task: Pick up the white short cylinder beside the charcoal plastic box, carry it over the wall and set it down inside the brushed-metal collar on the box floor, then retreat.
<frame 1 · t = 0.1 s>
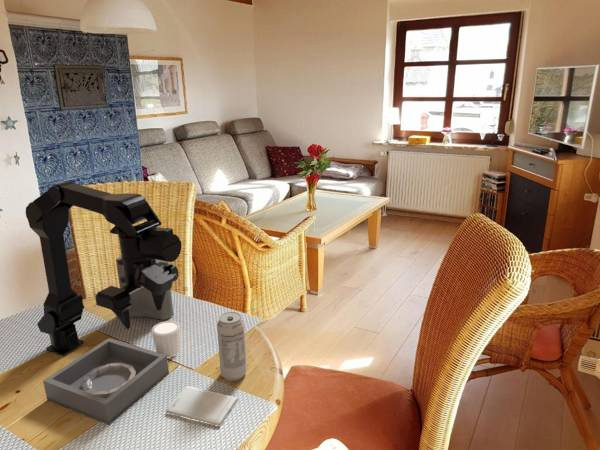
hand: (144, 318, 103), 15 cm above the table, fingers open, 9 cm apart
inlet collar: (109, 380, 102), in the walled box, point 1 cm above the table
white short cylinder: (168, 352, 116), on the table
grey flat slab: (203, 409, 97), on the table
flask: (149, 314, 134), on the table
walled box: (110, 386, 103), on the table
energy drink can: (233, 375, 107), on the table
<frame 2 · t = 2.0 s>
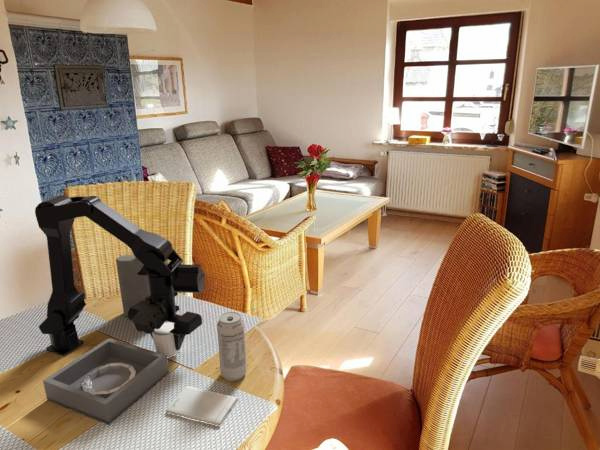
hand: (167, 346, 115), 2 cm above the table, fingers closed on white short cylinder, 6 cm apart
white short cylinder: (168, 352, 116), on the table, touching gripper
everything else where it was.
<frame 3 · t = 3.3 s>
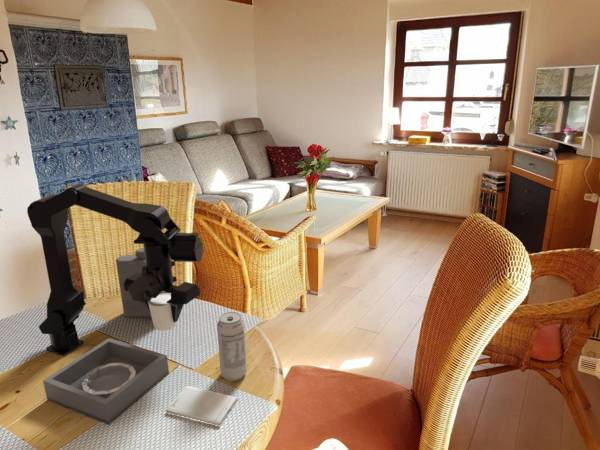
hand: (165, 318, 112), 9 cm above the table, fingers closed on white short cylinder, 6 cm apart
white short cylinder: (165, 325, 113), point 8 cm above the table, touching gripper
everything else where it was.
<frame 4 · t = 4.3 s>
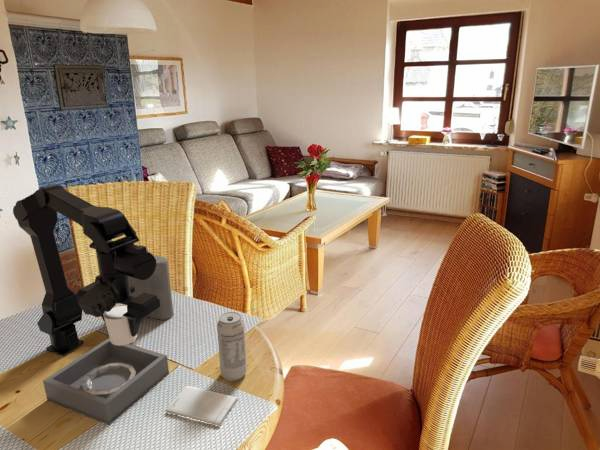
hand: (122, 332, 103), 11 cm above the table, fingers closed on white short cylinder, 6 cm apart
white short cylinder: (124, 339, 104), point 10 cm above the table, touching gripper
everything else where it was.
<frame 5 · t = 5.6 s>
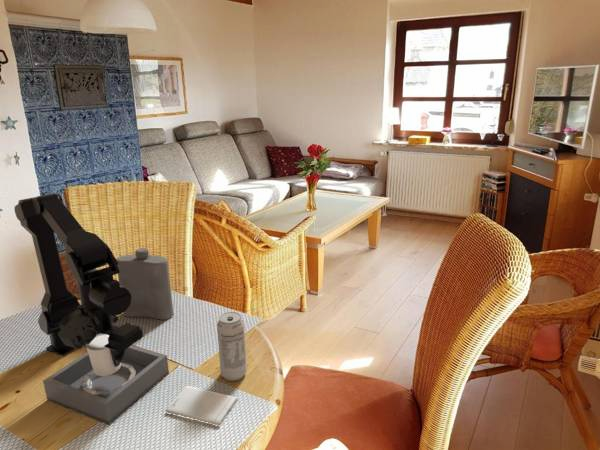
hand: (106, 362, 101), 6 cm above the table, fingers closed on white short cylinder, 6 cm apart
white short cylinder: (107, 368, 102), point 5 cm above the table, touching gripper
everything else where it was.
when the fingers open (4 cm above the table, at t = 6.6 s): white short cylinder drops 1 cm, resting on walled box.
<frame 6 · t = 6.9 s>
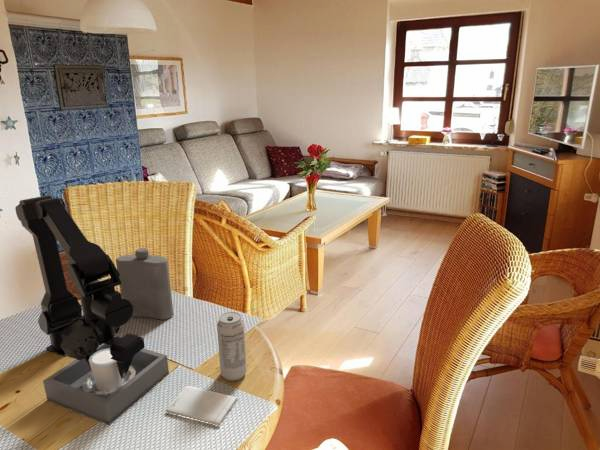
hand: (108, 372, 102), 4 cm above the table, fingers open, 9 cm apart
white short cylinder: (110, 383, 103), point 1 cm above the table, touching walled box
everything else where it was.
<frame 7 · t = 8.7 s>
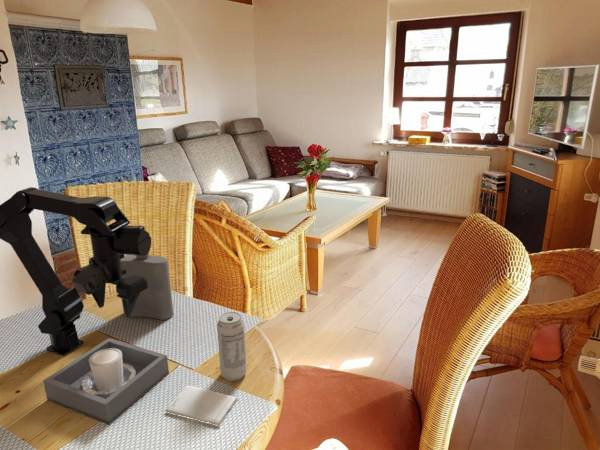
hand: (114, 311, 111), 12 cm above the table, fingers open, 9 cm apart
nothing on the table moved.
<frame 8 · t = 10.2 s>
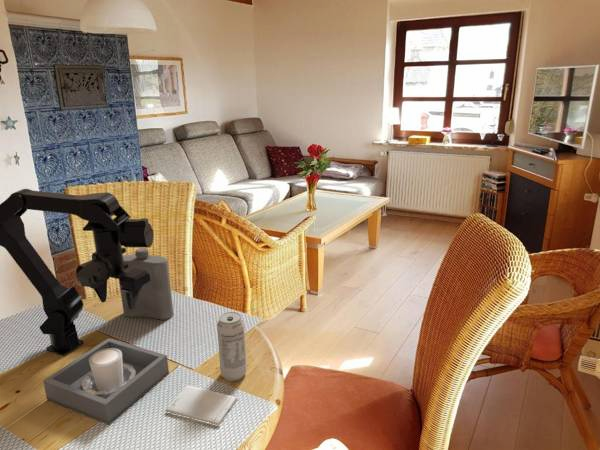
hand: (117, 305, 114), 12 cm above the table, fingers open, 9 cm apart
nothing on the table moved.
at the end: white short cylinder 0.1 cm off-centre on the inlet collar, point 0.6 cm above the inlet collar's base; white short cylinder tilted 0°; the gripper is holding nothing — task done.
